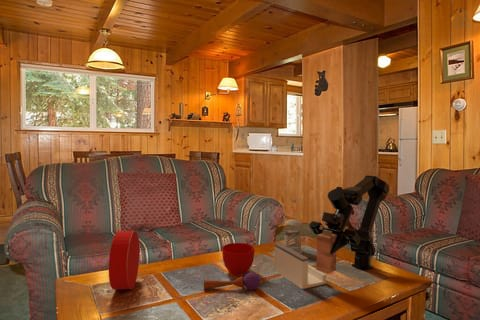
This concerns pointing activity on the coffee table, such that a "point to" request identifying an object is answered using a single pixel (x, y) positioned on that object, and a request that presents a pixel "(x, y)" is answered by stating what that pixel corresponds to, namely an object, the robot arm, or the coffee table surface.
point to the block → (326, 252)
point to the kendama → (236, 282)
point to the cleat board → (296, 268)
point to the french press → (293, 231)
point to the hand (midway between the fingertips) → (324, 251)
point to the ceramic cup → (238, 257)
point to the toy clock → (124, 260)
